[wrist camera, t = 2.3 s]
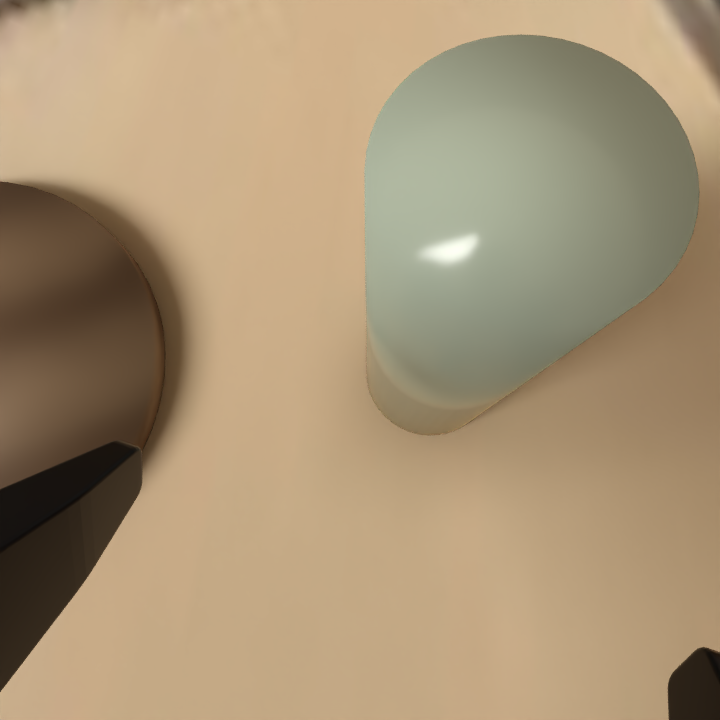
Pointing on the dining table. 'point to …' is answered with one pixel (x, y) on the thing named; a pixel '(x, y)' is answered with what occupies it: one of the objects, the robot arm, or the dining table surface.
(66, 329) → the disc
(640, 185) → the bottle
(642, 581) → the dining table surface
